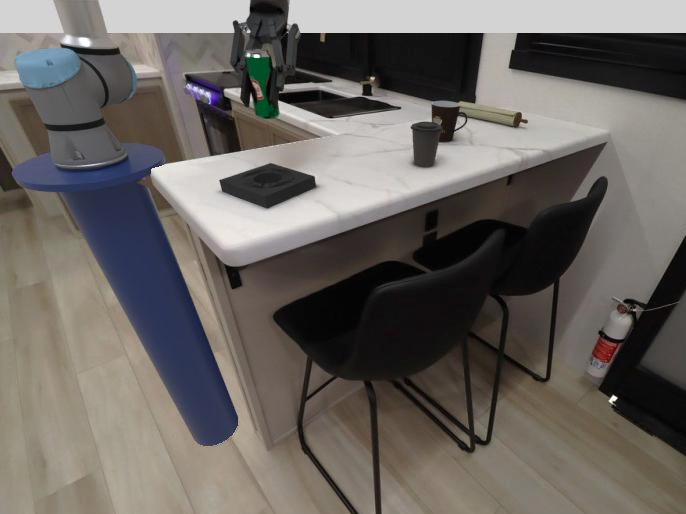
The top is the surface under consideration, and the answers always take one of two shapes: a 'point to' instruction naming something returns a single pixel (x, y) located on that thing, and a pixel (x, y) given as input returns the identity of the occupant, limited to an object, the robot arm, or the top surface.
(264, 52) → the soda can
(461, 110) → the rolling pin
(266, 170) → the socket pad
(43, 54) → the robot arm
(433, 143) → the coffee cup
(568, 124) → the top surface
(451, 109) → the coffee mug
